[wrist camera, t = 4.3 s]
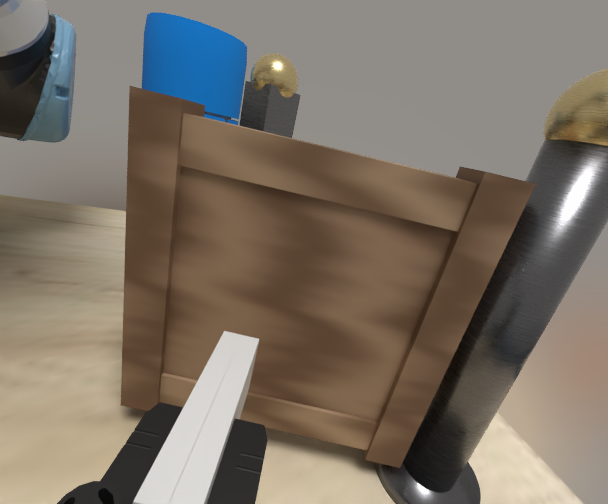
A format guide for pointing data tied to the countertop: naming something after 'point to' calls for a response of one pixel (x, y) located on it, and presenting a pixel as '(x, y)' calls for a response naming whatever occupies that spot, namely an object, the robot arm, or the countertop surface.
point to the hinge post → (515, 299)
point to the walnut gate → (301, 273)
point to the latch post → (271, 96)
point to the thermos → (194, 64)
